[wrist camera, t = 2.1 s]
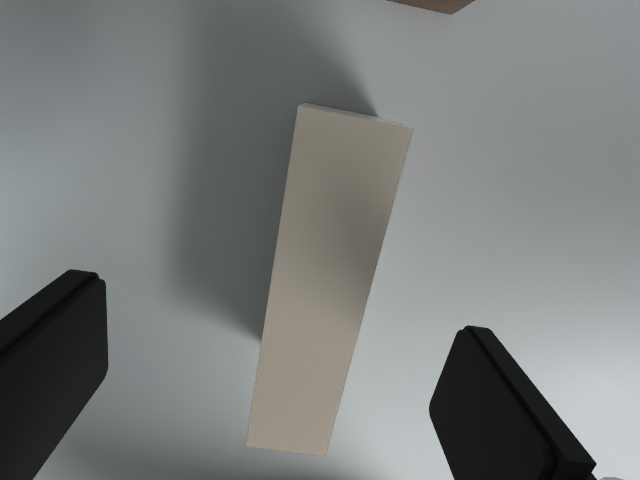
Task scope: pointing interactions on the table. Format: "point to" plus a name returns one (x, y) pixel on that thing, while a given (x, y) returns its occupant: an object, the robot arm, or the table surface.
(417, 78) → the table surface
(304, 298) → the strip
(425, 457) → the table surface
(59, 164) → the table surface
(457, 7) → the walnut rack
